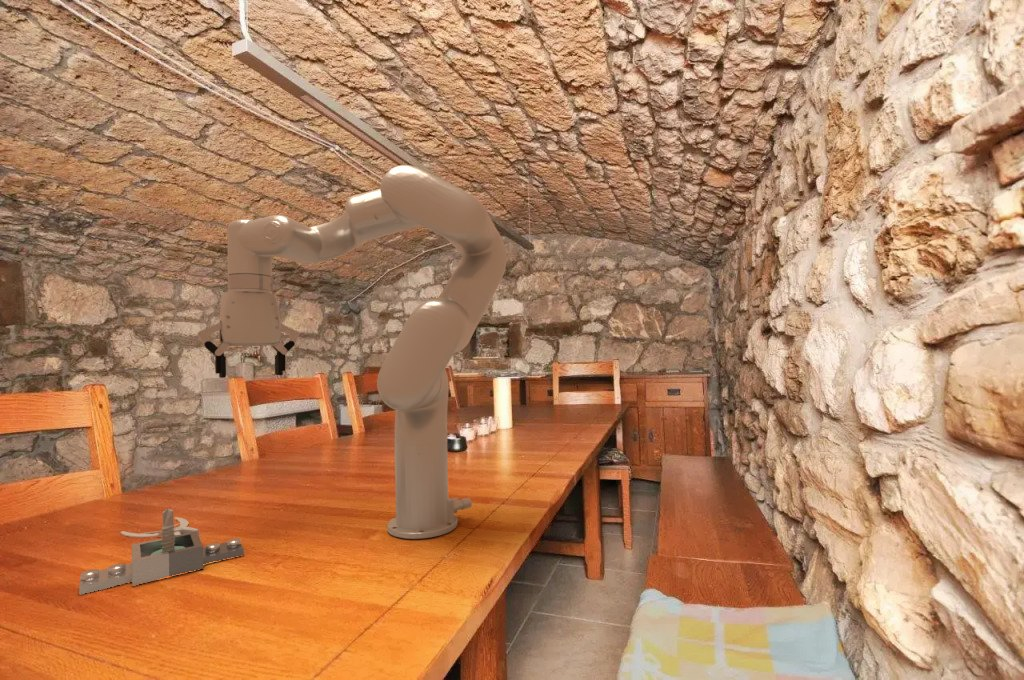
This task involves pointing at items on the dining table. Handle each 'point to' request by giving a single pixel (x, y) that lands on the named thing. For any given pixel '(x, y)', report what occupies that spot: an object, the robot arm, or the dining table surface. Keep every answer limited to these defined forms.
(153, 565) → the riveted metal bracket
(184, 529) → the pliers
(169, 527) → the screw
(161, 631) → the dining table surface
